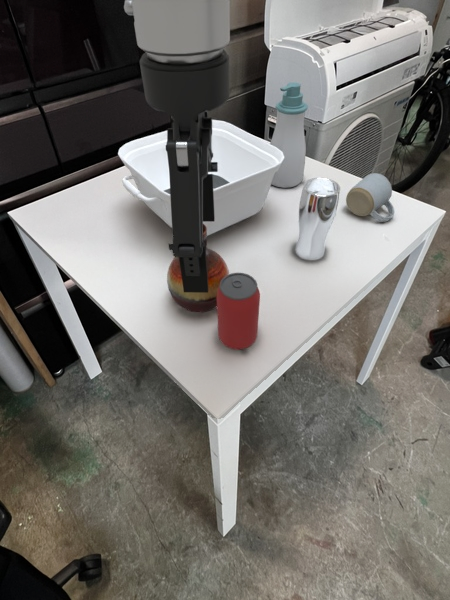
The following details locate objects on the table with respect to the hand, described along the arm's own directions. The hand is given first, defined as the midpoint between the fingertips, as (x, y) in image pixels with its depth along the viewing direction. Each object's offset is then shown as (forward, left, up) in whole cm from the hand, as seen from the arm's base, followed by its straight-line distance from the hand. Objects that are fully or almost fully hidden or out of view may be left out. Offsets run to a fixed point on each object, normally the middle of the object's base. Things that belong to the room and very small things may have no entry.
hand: (200, 251), depth 46 cm
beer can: (-4, -4, -21) cm, 22 cm away
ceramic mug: (-25, -48, -21) cm, 58 cm away
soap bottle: (-3, -58, -21) cm, 62 cm away
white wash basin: (+13, -38, -21) cm, 45 cm away
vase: (+5, -11, -21) cm, 24 cm away
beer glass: (-13, -30, -21) cm, 38 cm away
